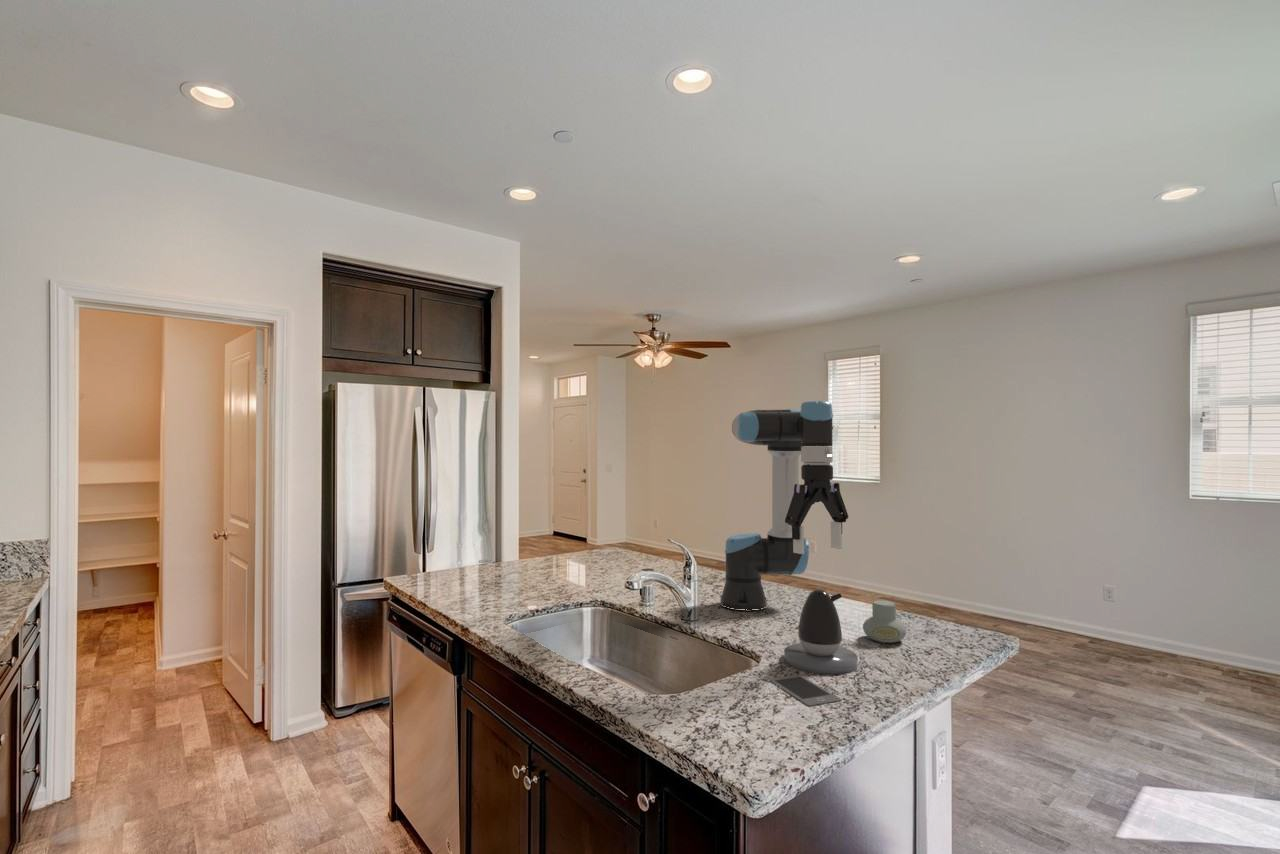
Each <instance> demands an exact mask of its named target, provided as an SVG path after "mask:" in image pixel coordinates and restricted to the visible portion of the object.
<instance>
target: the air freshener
mask: <svg viewBox="0 0 1280 854" xmlns="http://www.w3.org/2000/svg"><path fill="white" fill-rule="evenodd" d="M896 605H897V604H895V603H894V602H893V601H889V600H875V601H873V602H872V605H871V606H872V607H871V608H872V616H870V617H868V618H867V619H865V621H863V624H862V630H863V632H864V634H865V635H866V636H867V637H868V638H870V639H871V640H873V641H875V642H878V643H881V644H885V643H890V644H894V643H897V642H900V641H901V640H903V639H904V638H905V637H906V635H907V628H906V626H905V625H904V622H902V621H900V620H899V619H897V606H896Z"/></svg>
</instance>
